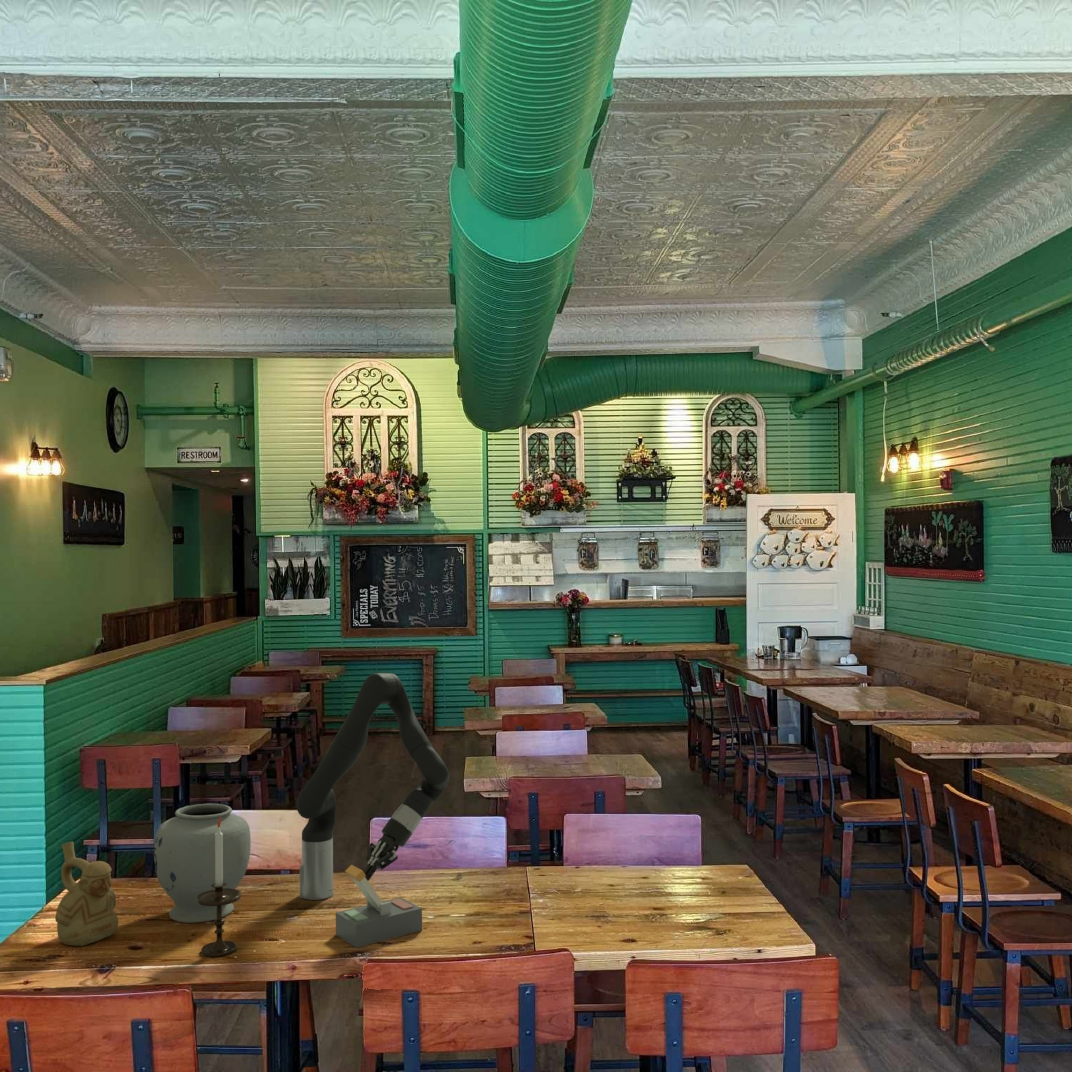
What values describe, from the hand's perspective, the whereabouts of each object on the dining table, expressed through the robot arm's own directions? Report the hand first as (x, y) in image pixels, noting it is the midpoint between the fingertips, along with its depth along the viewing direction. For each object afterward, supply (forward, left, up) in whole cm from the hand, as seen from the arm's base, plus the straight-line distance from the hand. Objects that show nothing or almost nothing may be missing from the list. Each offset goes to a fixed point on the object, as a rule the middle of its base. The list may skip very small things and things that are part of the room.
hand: (363, 879), depth 271 cm
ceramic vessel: (-76, -9, -16) cm, 78 cm away
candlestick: (-35, -14, -16) cm, 41 cm away
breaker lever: (+3, +3, -8) cm, 10 cm away
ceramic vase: (-53, +13, -16) cm, 57 cm away
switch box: (+3, +3, -15) cm, 16 cm away
